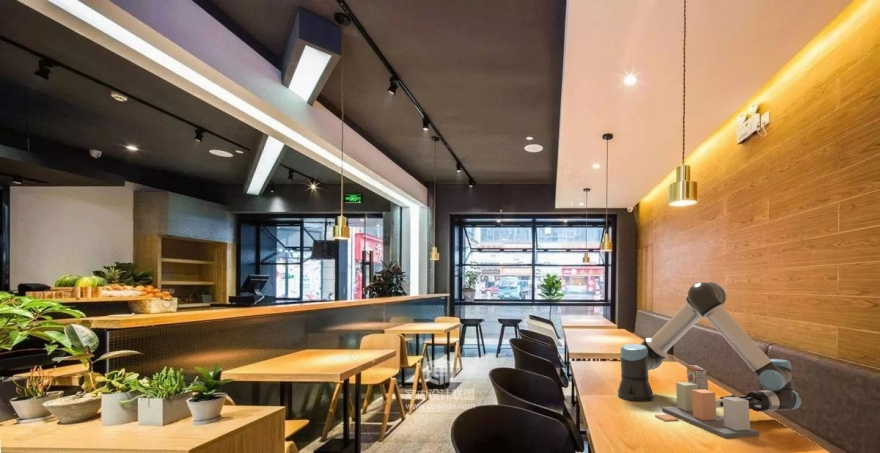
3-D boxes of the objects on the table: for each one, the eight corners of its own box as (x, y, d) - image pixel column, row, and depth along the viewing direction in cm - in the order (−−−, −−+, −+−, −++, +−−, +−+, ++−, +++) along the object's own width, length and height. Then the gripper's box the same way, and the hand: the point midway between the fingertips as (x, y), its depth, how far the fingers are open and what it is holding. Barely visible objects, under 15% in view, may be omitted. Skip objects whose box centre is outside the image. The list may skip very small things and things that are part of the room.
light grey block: (724, 426, 165) (722, 397, 166) (738, 425, 166) (736, 396, 167) (736, 430, 160) (734, 401, 161) (750, 429, 161) (748, 400, 162)
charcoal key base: (662, 411, 188) (662, 407, 188) (691, 409, 191) (691, 406, 191) (725, 438, 157) (725, 433, 157) (759, 435, 160) (758, 431, 160)
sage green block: (677, 407, 188) (676, 382, 189) (689, 406, 189) (688, 382, 190) (686, 410, 183) (684, 385, 184) (698, 410, 184) (697, 384, 186)
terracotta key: (693, 416, 176) (691, 389, 177) (706, 415, 177) (704, 389, 178) (703, 420, 171) (701, 393, 172) (716, 419, 172) (715, 392, 173)
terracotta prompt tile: (654, 416, 181) (654, 415, 181) (668, 415, 182) (668, 414, 182) (665, 421, 175) (665, 419, 175) (678, 420, 176) (678, 418, 176)
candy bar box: (687, 402, 202) (686, 364, 204) (700, 403, 201) (698, 365, 203) (696, 409, 191) (694, 369, 193) (709, 410, 190) (707, 370, 192)
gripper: (778, 415, 173) (725, 419, 168) (748, 406, 186) (699, 408, 181) (776, 395, 174) (724, 398, 169) (747, 387, 187) (698, 389, 182)
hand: (711, 403), depth 175 cm, fingers closed
